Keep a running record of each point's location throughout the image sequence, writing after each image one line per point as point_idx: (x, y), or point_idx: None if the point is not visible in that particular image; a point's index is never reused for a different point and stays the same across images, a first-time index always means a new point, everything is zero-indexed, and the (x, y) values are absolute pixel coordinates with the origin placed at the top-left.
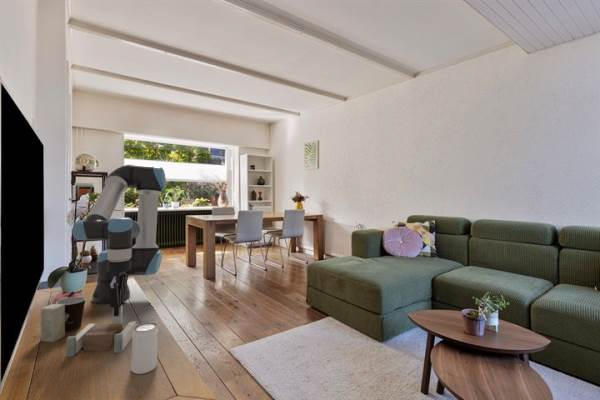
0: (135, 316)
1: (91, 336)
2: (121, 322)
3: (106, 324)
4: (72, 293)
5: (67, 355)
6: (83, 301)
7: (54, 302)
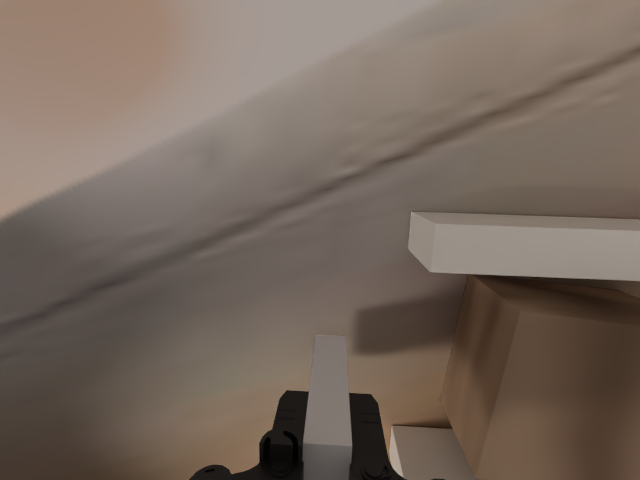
0: (136, 286)
1: None
2: (331, 338)
3: (495, 425)
4: None
5: None
6: None
7: None
